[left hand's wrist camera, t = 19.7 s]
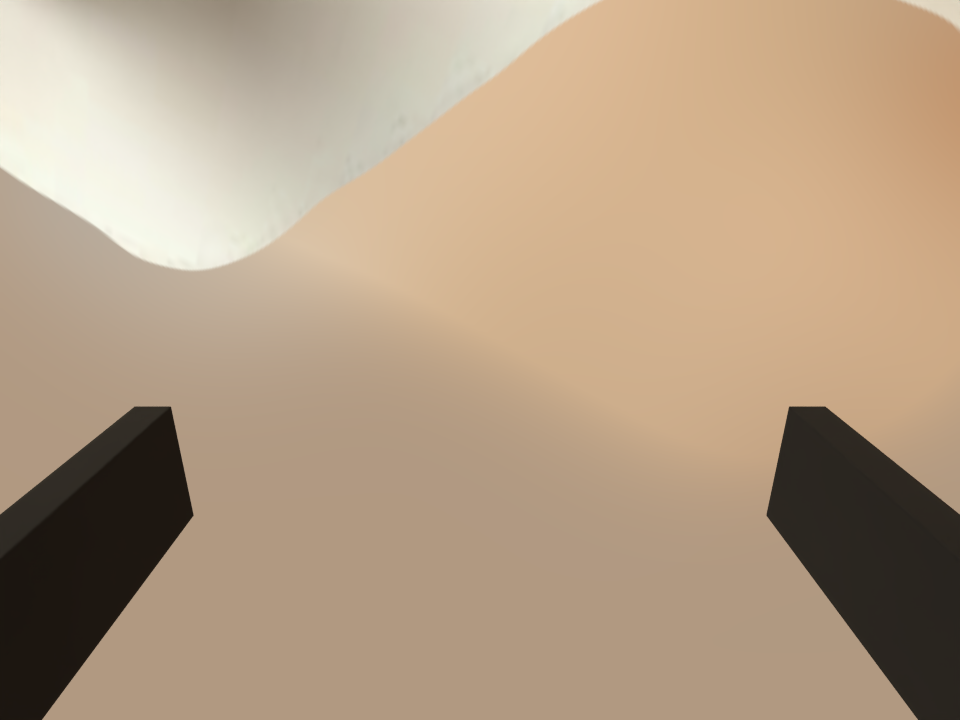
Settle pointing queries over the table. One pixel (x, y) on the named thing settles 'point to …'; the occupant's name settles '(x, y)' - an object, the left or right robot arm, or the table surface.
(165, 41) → the table surface
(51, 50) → the table surface
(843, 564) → the left robot arm
